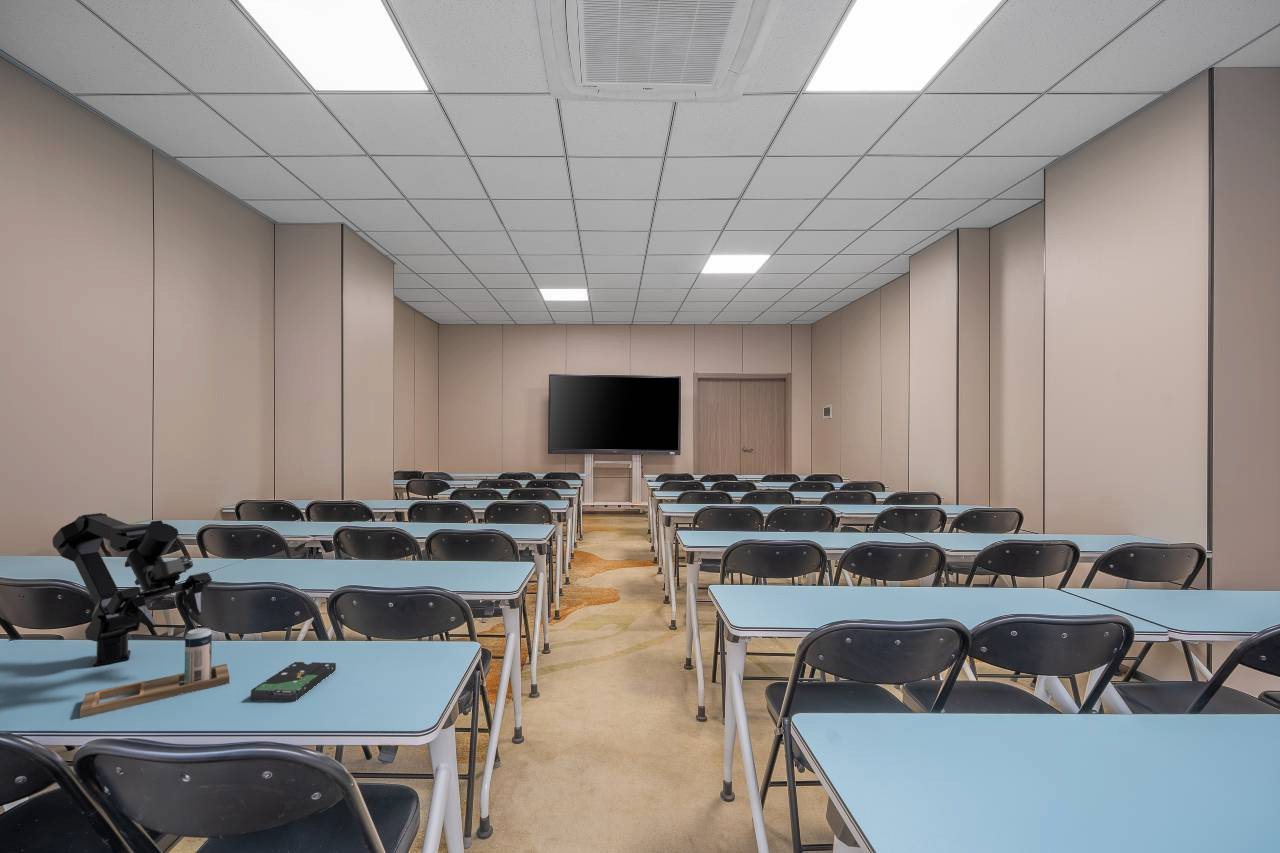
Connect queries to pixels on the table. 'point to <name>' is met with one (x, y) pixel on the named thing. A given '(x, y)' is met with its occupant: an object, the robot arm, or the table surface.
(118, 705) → the wooden tray
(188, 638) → the white cylinder
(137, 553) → the robot arm
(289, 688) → the disk drive
